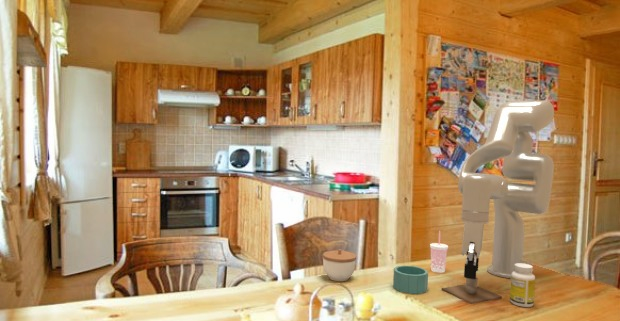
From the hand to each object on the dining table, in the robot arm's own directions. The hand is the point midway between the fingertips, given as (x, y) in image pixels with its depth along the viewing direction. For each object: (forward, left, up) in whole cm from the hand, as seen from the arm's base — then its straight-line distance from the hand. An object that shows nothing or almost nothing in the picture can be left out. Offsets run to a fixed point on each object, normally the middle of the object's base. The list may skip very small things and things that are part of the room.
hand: (471, 274), depth 132 cm
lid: (-1, 0, -7) cm, 7 cm away
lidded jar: (+29, -27, -7) cm, 40 cm away
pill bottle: (-9, +11, -6) cm, 15 cm away
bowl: (+13, -11, -6) cm, 18 cm away
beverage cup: (-8, -22, -6) cm, 24 cm away
